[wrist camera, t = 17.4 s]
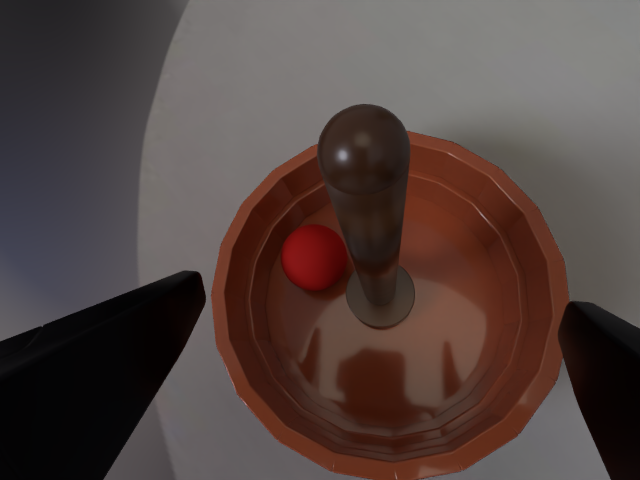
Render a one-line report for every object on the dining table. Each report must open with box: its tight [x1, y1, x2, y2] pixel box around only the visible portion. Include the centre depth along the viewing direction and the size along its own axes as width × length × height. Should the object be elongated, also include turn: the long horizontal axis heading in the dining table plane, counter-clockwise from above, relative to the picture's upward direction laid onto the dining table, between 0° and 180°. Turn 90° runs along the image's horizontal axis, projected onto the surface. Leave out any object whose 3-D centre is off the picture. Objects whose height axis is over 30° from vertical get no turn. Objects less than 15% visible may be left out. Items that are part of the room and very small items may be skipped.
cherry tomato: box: [281, 224, 347, 291], centre depth 17 cm, size 3×3×3 cm
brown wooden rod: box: [317, 104, 415, 329], centre depth 11 cm, size 3×3×13 cm
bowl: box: [211, 131, 569, 480], centre depth 15 cm, size 13×13×5 cm
